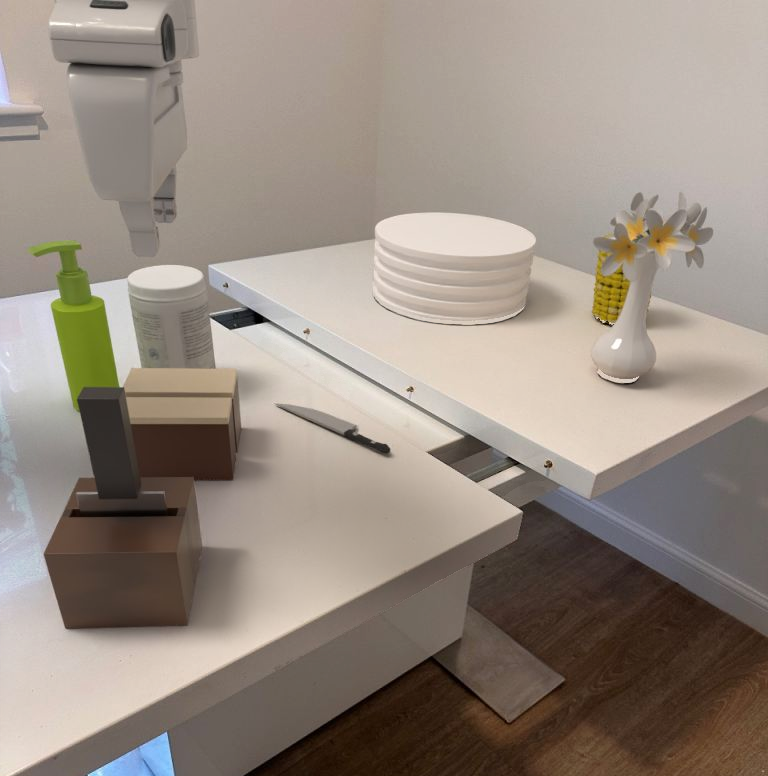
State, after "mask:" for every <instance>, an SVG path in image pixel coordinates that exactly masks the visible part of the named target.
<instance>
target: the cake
mask: <svg viewBox="0 0 768 776" xmlns="http://www.w3.org/2000/svg"><path fill="white" fill-rule="evenodd" d="M122 387H124V389H125V395H126V397H199V398H232V409H233V422H234V434H235V446H236V454H238V452H239V444H240V438H241V433H242V432H241V431H242V419H241V418H242V417H241V405H240V393H239V380H238V369H237V368H216V369H188V368H142V367H131V368H130V371H129V373H128V375H127V377H126V380H125V382H124V383H123V386H122Z"/></svg>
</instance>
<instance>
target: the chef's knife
mask: <svg viewBox="0 0 768 776" xmlns="http://www.w3.org/2000/svg"><path fill="white" fill-rule="evenodd" d="M274 405H276V406H278V407H279V408H281V409H284V410H286V411H288V412H290V413H292V414H295V415H297V416H299V417H301V418H304V419H305V420H307V421H311V422H313V423H314V424H317V425H319V426H322V427H324V428H326V429H329V430H331V431H333V432H335V433H338V434H340V435H342V436H344V437H346V438H348V439H351V440H353V441H355V442H358V443H360V444H363V445H364V446H368V447H370V448H372V449H374V450H376V451H378V452H380V453H383V454H390V452H391V447H390V446H389V445H388V444H387V443H383V442H379V441H376V440H374V439H371V438H369V437H366V436H364V435H363V434H360V433H359V432H356V431H354V430H355V429H356V428H357V427H358V425H357V424H354V423H351V422H349V421H346V420H344V419H341V418H339V417H336V416H333V415H331V414H329V413H326V412H324V411H320V410H317V409H314V408H309V407H304V406H299V405H294V404H289V403H274Z"/></svg>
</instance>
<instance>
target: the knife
mask: <svg viewBox="0 0 768 776" xmlns="http://www.w3.org/2000/svg"><path fill="white" fill-rule="evenodd" d="M77 402H78V406H79V411H80V412H79V411H78V412H79V416H80V420H81V425H82V428H83V429H82V430H83V432H84V437H85V442H86V447H87V451H88V456H89V461H90V464H91V465H90V466H91V469H92V473H93V478H94V479H95V483H96V488H97V492H77V493H76V496H77V500H78V504H79V508H80V512H81V517H156V516H168V510H167V503H166V497H165V491H146V492H139V491H140V488H141V480H140V474H139V469H138V463H137V457H136V452H135V446H134V440H133V435H132V429H131V423H130V418H129V412H128V406H127V401H126V395H125V389H124V387H123V386H119V387H83V389H82V391H81V392H80V394H79V396H78V398H77Z"/></svg>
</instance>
